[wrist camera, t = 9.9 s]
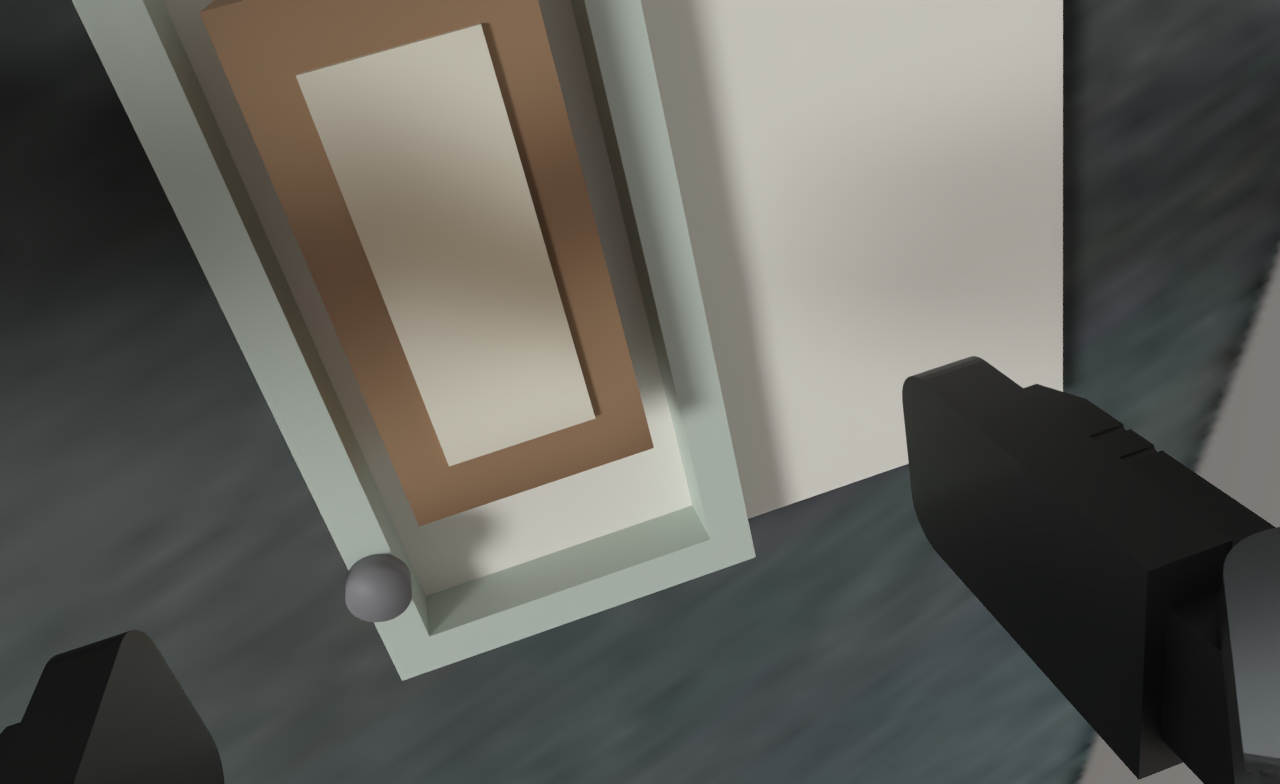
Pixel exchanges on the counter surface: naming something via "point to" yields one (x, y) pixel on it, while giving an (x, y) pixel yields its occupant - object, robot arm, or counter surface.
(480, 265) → the frame
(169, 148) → the wall panel
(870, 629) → the counter surface
